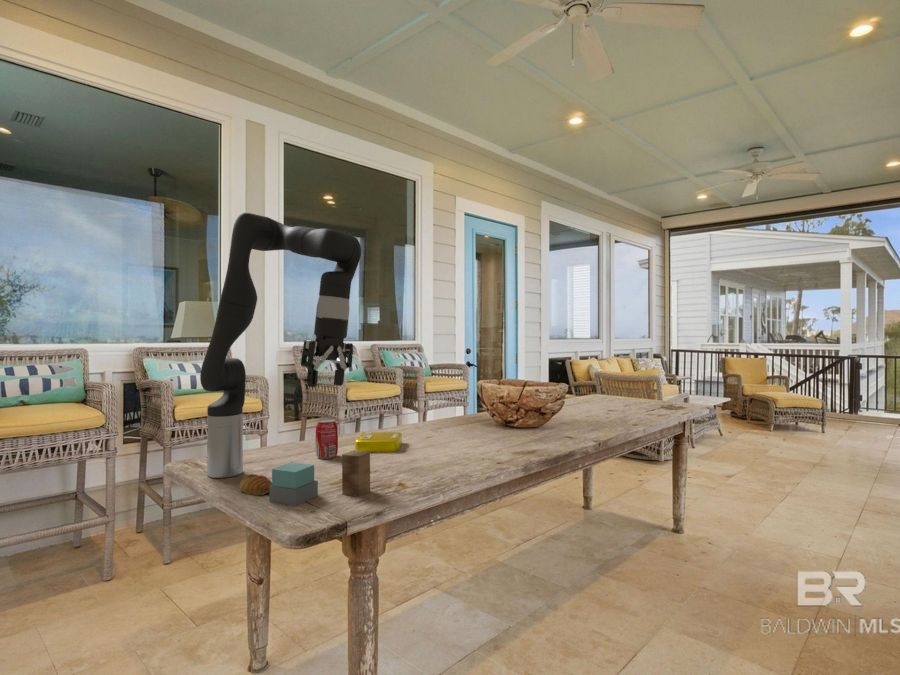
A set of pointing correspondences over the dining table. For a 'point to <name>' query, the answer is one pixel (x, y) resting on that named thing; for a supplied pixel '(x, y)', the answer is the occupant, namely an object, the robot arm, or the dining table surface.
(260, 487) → the pastry
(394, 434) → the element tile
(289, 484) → the tower top slab
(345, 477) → the walnut pillar
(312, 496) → the tower base slab
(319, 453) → the soda can
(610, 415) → the dining table surface
